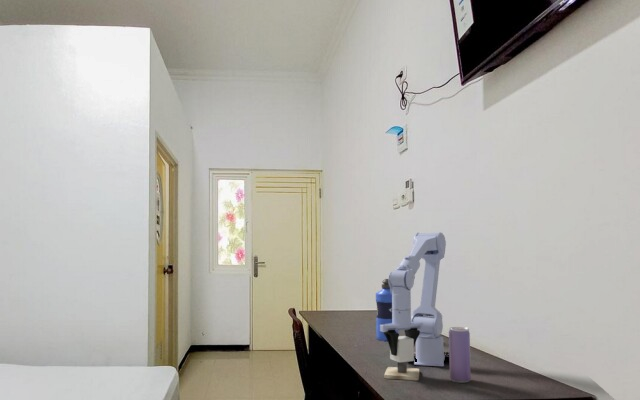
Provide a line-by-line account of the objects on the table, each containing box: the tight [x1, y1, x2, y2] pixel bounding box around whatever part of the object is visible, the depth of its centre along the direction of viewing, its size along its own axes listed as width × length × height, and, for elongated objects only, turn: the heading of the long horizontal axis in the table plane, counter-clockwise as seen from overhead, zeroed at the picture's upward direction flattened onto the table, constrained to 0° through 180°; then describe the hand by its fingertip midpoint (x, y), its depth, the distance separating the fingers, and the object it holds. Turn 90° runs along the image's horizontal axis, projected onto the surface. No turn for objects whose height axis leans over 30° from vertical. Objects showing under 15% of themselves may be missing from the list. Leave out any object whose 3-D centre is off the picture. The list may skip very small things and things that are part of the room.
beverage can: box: [448, 326, 472, 384], centre depth 147 cm, size 6×6×15 cm
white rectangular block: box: [389, 335, 415, 363], centre depth 153 cm, size 5×5×7 cm
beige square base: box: [383, 362, 420, 381], centre depth 152 cm, size 10×10×6 cm
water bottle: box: [375, 278, 399, 342], centre depth 210 cm, size 9×9×25 cm
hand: (402, 354), depth 153 cm, fingers closed on white rectangular block, 5 cm apart
